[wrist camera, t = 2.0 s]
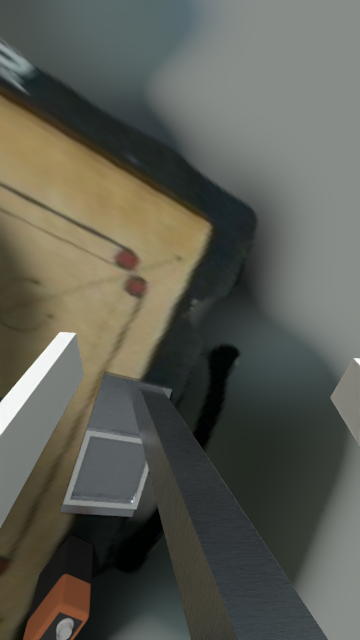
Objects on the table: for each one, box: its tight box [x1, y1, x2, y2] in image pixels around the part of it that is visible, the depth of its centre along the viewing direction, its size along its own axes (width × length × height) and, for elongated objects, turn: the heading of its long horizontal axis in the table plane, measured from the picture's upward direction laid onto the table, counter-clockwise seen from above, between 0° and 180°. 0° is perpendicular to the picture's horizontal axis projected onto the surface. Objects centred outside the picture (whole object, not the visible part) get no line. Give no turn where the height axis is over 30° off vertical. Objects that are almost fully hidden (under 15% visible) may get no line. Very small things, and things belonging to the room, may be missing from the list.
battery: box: [23, 535, 93, 640], centre depth 31 cm, size 4×7×10 cm, turn 140°
